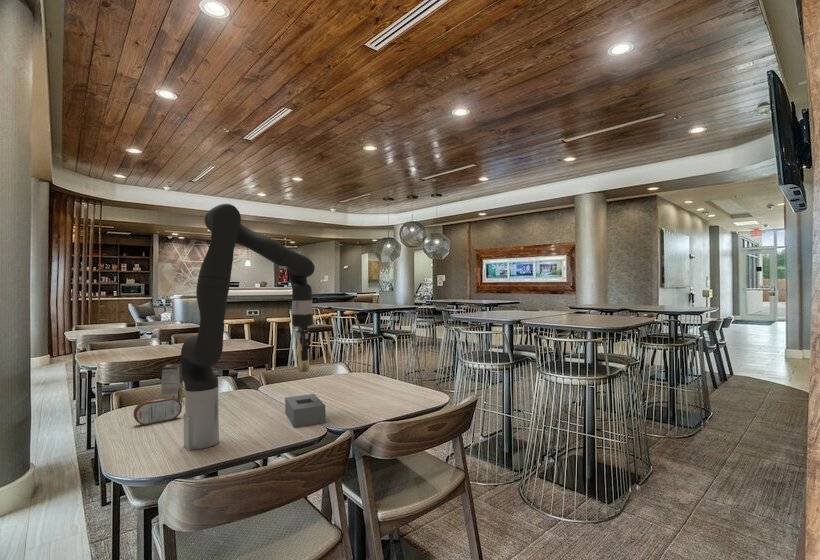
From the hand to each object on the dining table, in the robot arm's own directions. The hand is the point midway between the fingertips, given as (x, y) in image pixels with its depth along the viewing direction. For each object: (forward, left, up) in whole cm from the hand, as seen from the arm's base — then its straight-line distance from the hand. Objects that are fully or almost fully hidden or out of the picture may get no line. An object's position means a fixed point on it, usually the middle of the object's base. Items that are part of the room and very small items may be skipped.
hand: (303, 359), depth 154 cm
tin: (-41, +33, -22) cm, 57 cm away
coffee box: (-32, +57, -22) cm, 69 cm away
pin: (0, 0, -4) cm, 4 cm away
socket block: (0, 0, -21) cm, 21 cm away
